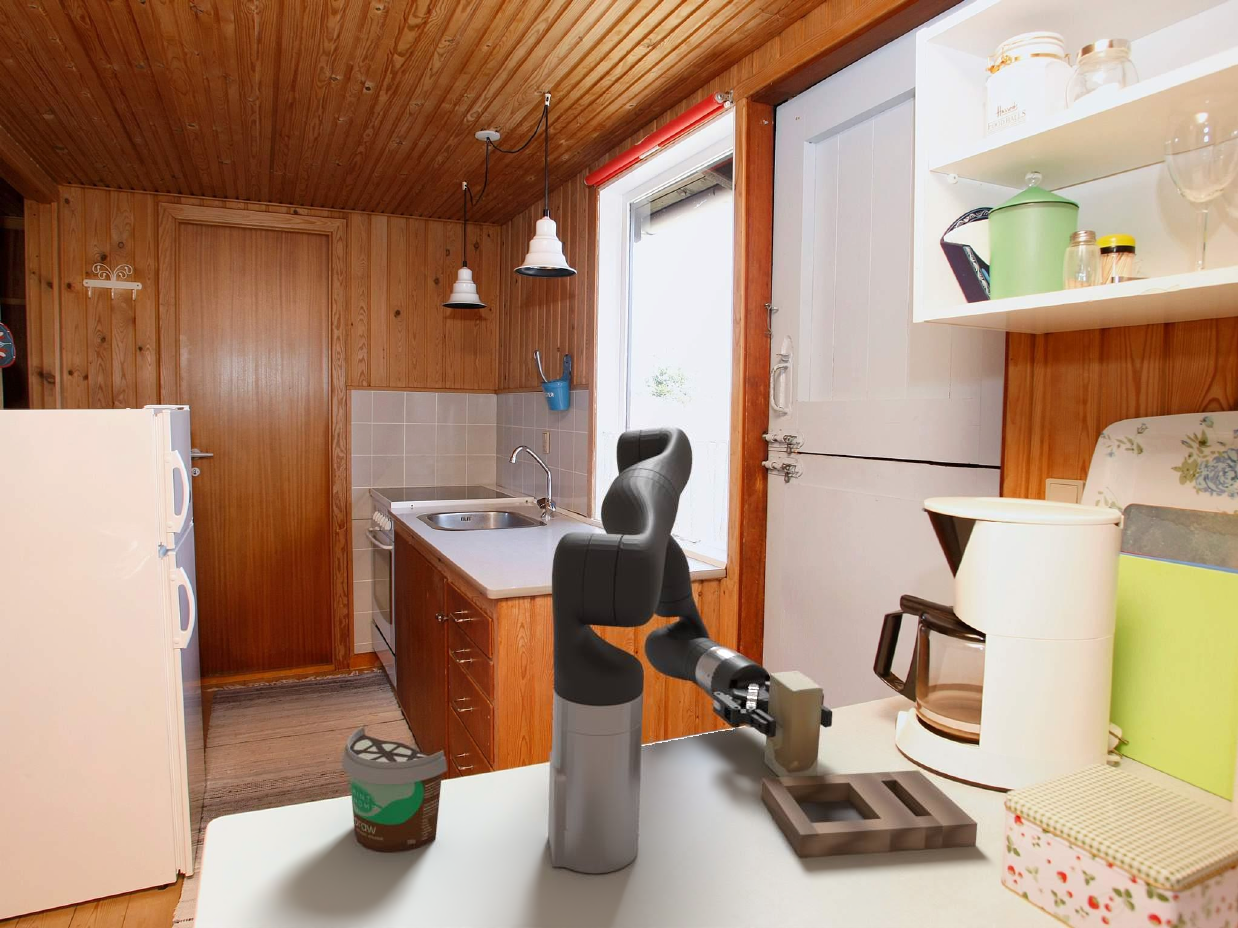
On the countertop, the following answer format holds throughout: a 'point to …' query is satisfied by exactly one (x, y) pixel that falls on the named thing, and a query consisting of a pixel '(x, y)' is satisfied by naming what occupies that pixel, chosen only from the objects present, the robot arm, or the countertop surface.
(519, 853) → the countertop surface
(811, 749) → the skincare box
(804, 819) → the socket plate
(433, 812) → the food container
